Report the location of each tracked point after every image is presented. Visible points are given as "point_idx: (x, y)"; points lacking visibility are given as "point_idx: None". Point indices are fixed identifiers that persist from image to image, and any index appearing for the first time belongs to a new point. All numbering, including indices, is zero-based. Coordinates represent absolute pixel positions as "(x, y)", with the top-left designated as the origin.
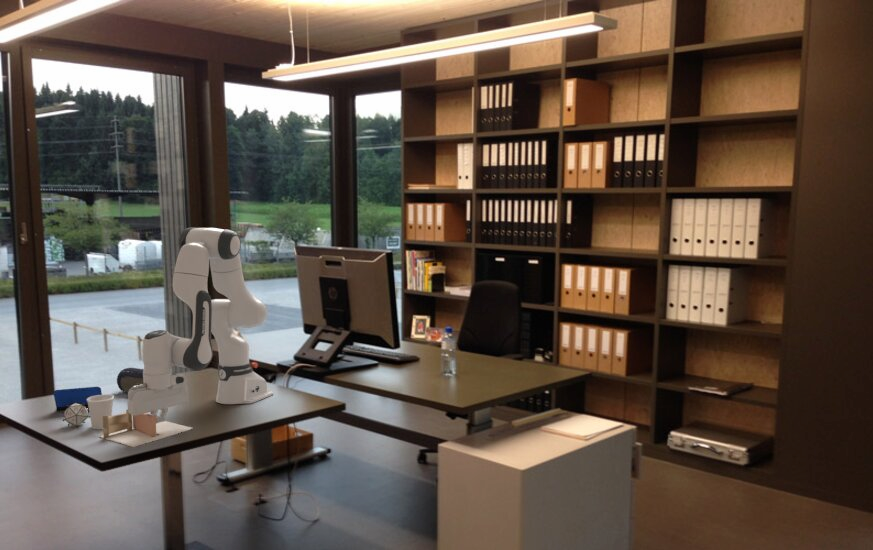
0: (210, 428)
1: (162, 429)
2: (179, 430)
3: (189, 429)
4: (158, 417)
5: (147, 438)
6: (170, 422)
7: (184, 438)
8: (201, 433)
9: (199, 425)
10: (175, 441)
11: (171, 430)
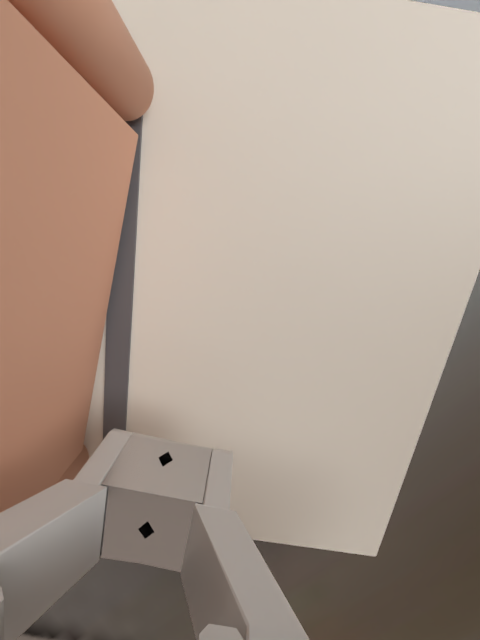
0: (426, 624)
1: (244, 381)
2: (283, 515)
3: (342, 548)
4: (116, 540)
5: None
6: (472, 279)
7: (178, 615)
8: (309, 637)
9: (475, 529)
10: (106, 607)
11: (256, 465)
